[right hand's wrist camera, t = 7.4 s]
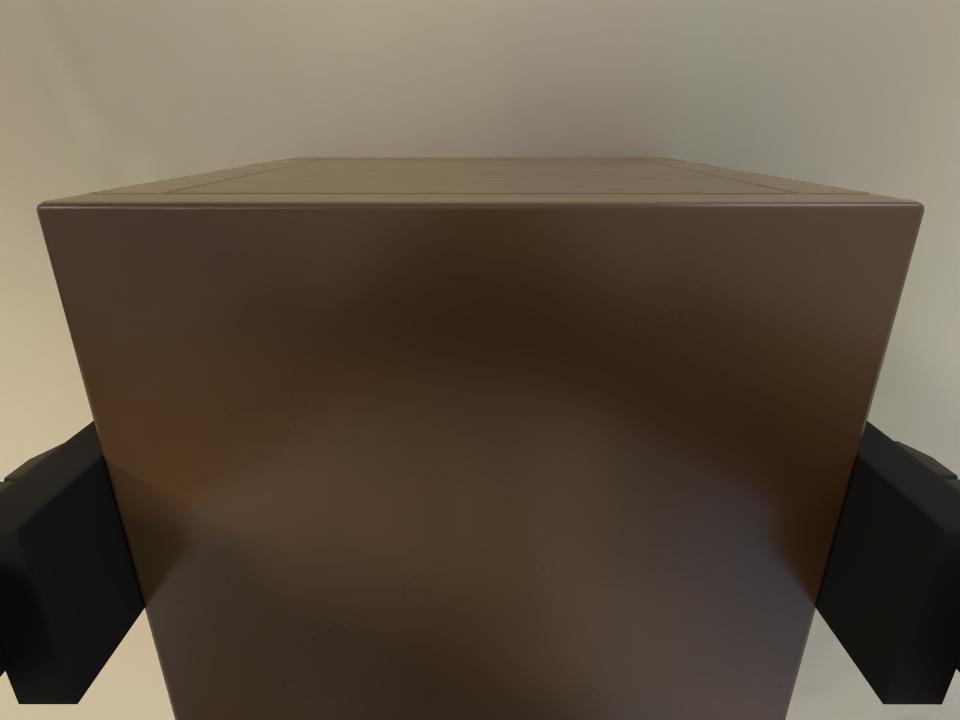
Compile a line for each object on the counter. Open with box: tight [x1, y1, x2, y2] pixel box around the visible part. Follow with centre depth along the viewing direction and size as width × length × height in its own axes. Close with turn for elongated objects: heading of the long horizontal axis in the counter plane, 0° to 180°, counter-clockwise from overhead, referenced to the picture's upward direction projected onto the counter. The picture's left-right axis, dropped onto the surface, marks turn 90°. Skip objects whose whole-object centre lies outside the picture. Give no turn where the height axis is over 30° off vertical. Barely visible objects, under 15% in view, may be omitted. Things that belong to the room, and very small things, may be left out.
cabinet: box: [37, 158, 924, 720], centre depth 15 cm, size 20×10×10 cm, turn 0°
